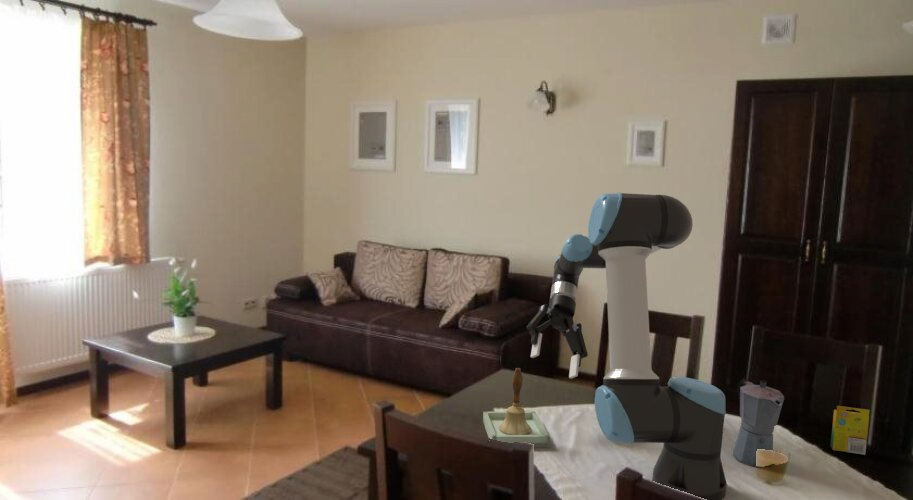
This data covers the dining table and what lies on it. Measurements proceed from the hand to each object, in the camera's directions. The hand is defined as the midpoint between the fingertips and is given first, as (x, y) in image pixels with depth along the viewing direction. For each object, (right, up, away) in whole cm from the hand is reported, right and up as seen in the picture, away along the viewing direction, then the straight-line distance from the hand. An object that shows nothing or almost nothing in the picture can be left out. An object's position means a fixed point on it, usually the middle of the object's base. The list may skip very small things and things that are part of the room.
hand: (554, 366), depth 173 cm
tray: (-12, -16, -9) cm, 21 cm away
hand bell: (-11, -15, -9) cm, 20 cm away
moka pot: (+45, -19, -18) cm, 52 cm away
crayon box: (+72, -19, -11) cm, 75 cm away
